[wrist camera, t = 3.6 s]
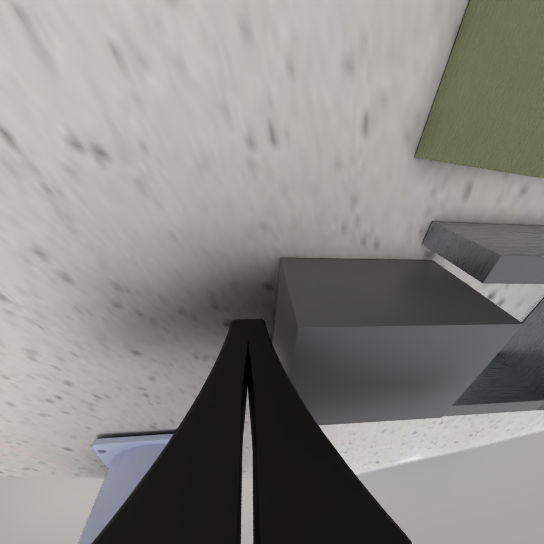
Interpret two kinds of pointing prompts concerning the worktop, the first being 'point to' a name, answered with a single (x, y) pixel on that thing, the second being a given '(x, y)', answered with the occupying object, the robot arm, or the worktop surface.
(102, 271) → the worktop surface
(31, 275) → the worktop surface
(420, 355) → the grey block
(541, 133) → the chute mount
